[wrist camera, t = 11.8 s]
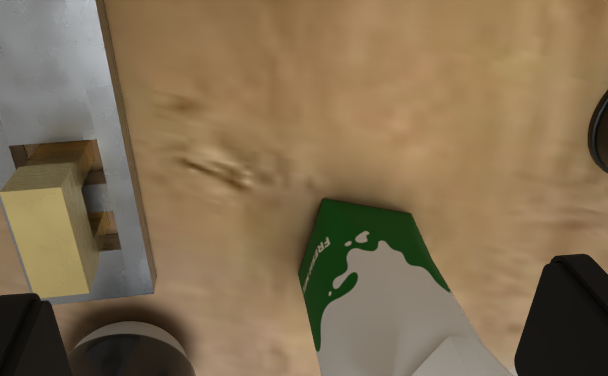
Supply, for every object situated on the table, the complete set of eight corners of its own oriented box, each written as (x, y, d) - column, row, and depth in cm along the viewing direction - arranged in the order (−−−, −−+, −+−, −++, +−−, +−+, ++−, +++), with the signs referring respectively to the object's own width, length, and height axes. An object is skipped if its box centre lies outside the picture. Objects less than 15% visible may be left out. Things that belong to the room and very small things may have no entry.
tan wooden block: (39, 139, 33) (-1, 192, 27) (89, 135, 34) (60, 187, 27) (65, 232, 36) (35, 298, 30) (110, 228, 37) (89, 293, 31)
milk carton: (314, 184, 38) (399, 428, 20) (428, 205, 40) (593, 440, 22) (283, 282, 41) (332, 559, 24) (389, 296, 44) (504, 558, 26)
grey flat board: (-92, -131, 26) (-115, -133, 24) (77, -133, 27) (68, -136, 25) (43, 288, 38) (35, 306, 37) (156, 276, 39) (153, 293, 38)
